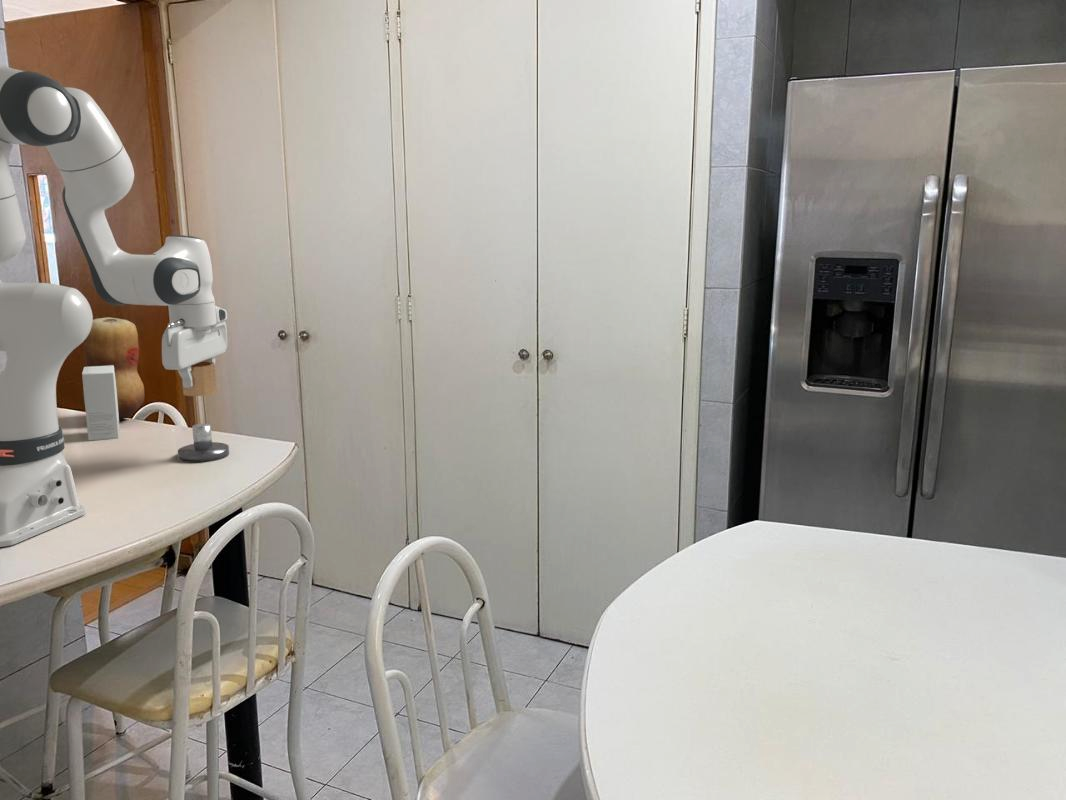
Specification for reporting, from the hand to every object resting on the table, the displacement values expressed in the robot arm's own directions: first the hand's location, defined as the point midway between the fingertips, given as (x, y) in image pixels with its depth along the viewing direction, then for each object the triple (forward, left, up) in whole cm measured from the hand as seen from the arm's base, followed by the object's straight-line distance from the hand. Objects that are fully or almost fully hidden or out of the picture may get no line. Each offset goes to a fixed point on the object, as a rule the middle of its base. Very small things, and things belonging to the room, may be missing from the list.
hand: (198, 382), depth 170 cm
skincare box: (+12, +30, -16) cm, 36 cm away
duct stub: (0, 0, -16) cm, 16 cm away
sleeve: (0, 0, -2) cm, 2 cm away
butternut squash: (+26, +36, -16) cm, 47 cm away
